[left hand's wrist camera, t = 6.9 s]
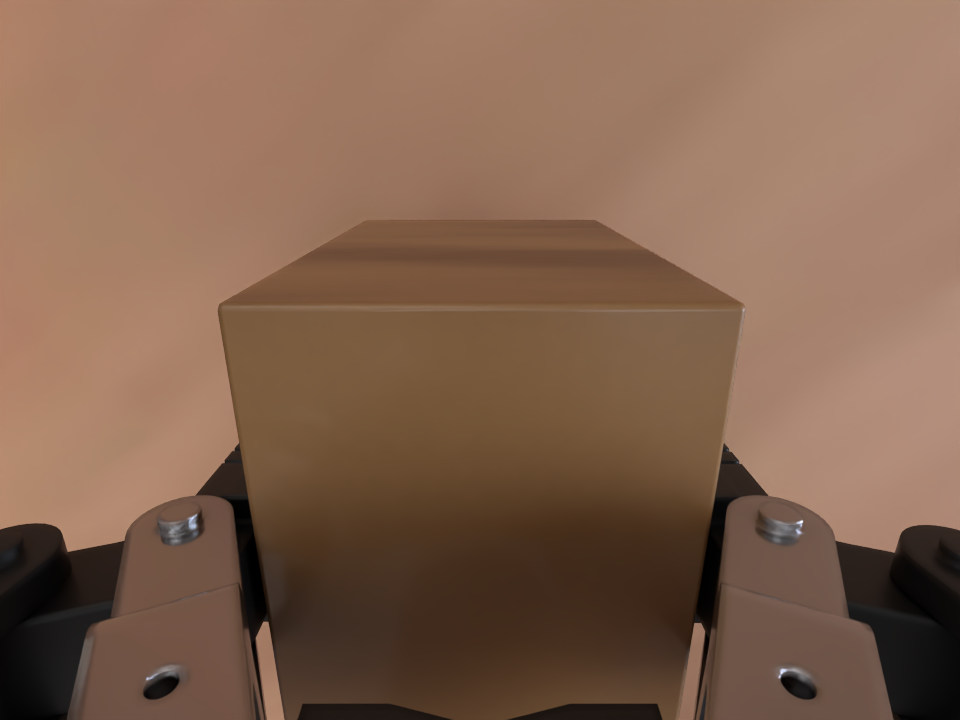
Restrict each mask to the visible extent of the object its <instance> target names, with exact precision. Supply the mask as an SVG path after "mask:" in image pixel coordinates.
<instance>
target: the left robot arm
mask: <svg viewBox="0 0 960 720" xmlns="http://www.w3.org/2000/svg"><path fill="white" fill-rule="evenodd" d="M263 622H269V621H268V615H267V609H266V602H265V596H264V590H263V584H262V578H261V572H260V566H259V560H258V554H257V547H256V541H255V535H254V529H253V523H252V517H251V511H250V505H249V499H248V493H247V486H246V480H245V474H244V468H243V462H242V456H241V450H240V444H238V445H237V446H236V447H235V451H232V452H231V453H230V455H229V456H228V457H227V458H226V459H225V463H222V464H221V466H220V467H219V468H218V469H217V470H216V472H215V473H214V474H213V475H212V476H211V478H210V479H209V480H208V481H207V482H206V484H205V485H204V486H203V487H202V488H201V490H200V491H199V492H198V493H197V494H196V496H189V497H183V498H179V499H175V500H172V501H169V502H166V503H163V504H161V505H159V506H156V507H155V508H153V509H151V510H149V511H147V512H146V513H144V514H143V515H141V516H140V517H139V518H138V519H136V520H135V521H134V522H133V523H132V524H131V526H130V527H129V529H128V530H127V533H126V536H125V541H122V542H117V543H112V544H107V545H102V546H97V547H92V548H87V549H81V550H76V551H71V552H67V548H66V545H65V542H64V538H63V535H62V533H61V531H60V530H59V529H58V528H57V527H55V526H52V525H48V524H38V523H35V524H24V525H17V526H12V527H8V528H4V529H1V530H0V720H267V717H266V709H265V701H264V693H263V685H262V677H261V669H260V662H259V654H258V648H257V642H256V636H257V634H258V632H259V630H260V627H261V625H262V623H263ZM694 623H702V625H703V628H704V630H705V637H704V642H703V648H702V654H701V662H700V670H699V678H698V685H697V693H696V701H695V709H694V717H693V720H960V530H956V529H952V528H947V527H941V526H933V525H918V526H912V527H909V528H907V529H905V530H904V531H903V532H902V533H901V535H900V538H899V541H898V544H897V548H896V551H895V553H893V552H888V551H883V550H877V549H872V548H867V547H862V546H857V545H852V544H847V543H842V542H838V541H835V536H834V533H833V530H832V529H831V527H830V526H829V524H828V523H827V522H826V521H825V520H824V519H822V518H821V517H820V516H819V515H817V514H816V513H814V512H813V511H811V510H809V509H807V508H805V507H804V506H801V505H799V504H797V503H794V502H791V501H788V500H785V499H781V498H777V497H771V496H768V495H767V494H766V492H765V491H764V490H763V489H762V488H761V486H760V485H759V484H758V483H757V482H756V481H755V479H754V478H753V477H752V476H751V475H750V473H749V472H748V471H747V470H746V469H745V467H744V466H743V465H742V464H739V460H738V459H737V458H736V457H735V456H734V454H733V453H732V452H729V448H728V447H727V446H726V445H725V444H723V451H722V457H721V463H720V469H719V475H718V481H717V487H716V493H715V499H714V505H713V511H712V517H711V524H710V530H709V536H708V542H707V548H706V554H705V560H704V566H703V572H702V578H701V584H700V590H699V597H698V603H697V609H696V615H695V621H694ZM297 720H452V719H448V718H444V717H440V716H437V715H433V714H429V713H425V712H421V711H417V710H413V709H409V708H405V707H401V706H397V705H393V704H302V707H301V710H300V713H299V716H298V719H297ZM508 720H663V719H662V716H661V713H660V710H659V707H658V704H567V705H563V706H559V707H555V708H551V709H547V710H543V711H539V712H535V713H531V714H527V715H523V716H520V717H516V718H512V719H508Z"/></svg>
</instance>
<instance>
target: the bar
mask: <svg viewBox="0 0 960 720" xmlns="http://www.w3.org/2000/svg"><path fill="white" fill-rule="evenodd" d="M218 315H219V322H220V328H221V334H222V340H223V346H224V352H225V358H226V364H227V370H228V377H229V383H230V389H231V395H232V401H233V407H234V413H235V419H236V425H237V431H238V438H239V444H240V450H241V456H242V462H243V468H244V474H245V480H246V486H247V493H248V499H249V505H250V511H251V517H252V523H253V529H254V535H255V541H256V547H257V554H258V560H259V566H260V572H261V578H262V584H263V590H264V596H265V602H266V609H267V615H268V621H269V627H270V633H271V639H272V645H273V651H274V657H275V664H276V670H277V676H278V682H279V688H280V694H281V700H282V706H283V712H284V718H285V720H297V719H298V716H299V713H300V710H301V707H302V704H393V705H397V706H401V707H405V708H409V709H413V710H417V711H421V712H425V713H429V714H433V715H437V716H440V717H444V718H448V719H452V720H508V719H512V718H516V717H520V716H523V715H527V714H531V713H535V712H539V711H543V710H547V709H551V708H555V707H559V706H563V705H567V704H658V707H659V710H660V713H661V716H662V719H663V720H678V718H679V712H680V706H681V700H682V694H683V688H684V682H685V676H686V670H687V663H688V657H689V651H690V645H691V639H692V633H693V627H694V621H695V615H696V609H697V603H698V597H699V590H700V584H701V578H702V572H703V566H704V560H705V554H706V548H707V542H708V536H709V530H710V524H711V517H712V511H713V505H714V499H715V493H716V487H717V481H718V475H719V469H720V463H721V457H722V451H723V444H724V438H725V432H726V426H727V420H728V414H729V408H730V402H731V396H732V390H733V384H734V377H735V371H736V365H737V359H738V353H739V347H740V341H741V335H742V329H743V323H744V317H745V306H744V304H743V303H741V302H740V301H738V300H736V299H734V298H733V297H731V296H729V295H727V294H726V293H724V292H722V291H720V290H718V289H717V288H715V287H713V286H711V285H710V284H708V283H706V282H704V281H702V280H701V279H699V278H697V277H695V276H694V275H692V274H690V273H688V272H686V271H685V270H683V269H681V268H679V267H678V266H676V265H674V264H672V263H670V262H669V261H667V260H665V259H663V258H662V257H660V256H658V255H656V254H654V253H653V252H651V251H649V250H647V249H646V248H644V247H642V246H640V245H639V244H637V243H635V242H633V241H631V240H630V239H628V238H626V237H624V236H623V235H621V234H619V233H617V232H615V231H614V230H612V229H610V228H608V227H607V226H605V225H603V224H601V223H599V222H598V221H595V220H367V221H364V222H363V223H361V224H359V225H357V226H356V227H354V228H352V229H350V230H349V231H347V232H345V233H343V234H342V235H340V236H338V237H336V238H335V239H333V240H331V241H329V242H328V243H326V244H324V245H322V246H320V247H319V248H317V249H315V250H313V251H312V252H310V253H308V254H306V255H305V256H303V257H301V258H299V259H298V260H296V261H294V262H292V263H291V264H289V265H287V266H285V267H284V268H282V269H280V270H278V271H277V272H275V273H273V274H271V275H270V276H268V277H266V278H264V279H263V280H261V281H259V282H257V283H256V284H254V285H252V286H250V287H249V288H247V289H245V290H243V291H241V292H240V293H238V294H236V295H234V296H233V297H231V298H229V299H227V300H226V301H224V302H222V303H220V304H219V307H218Z"/></svg>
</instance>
